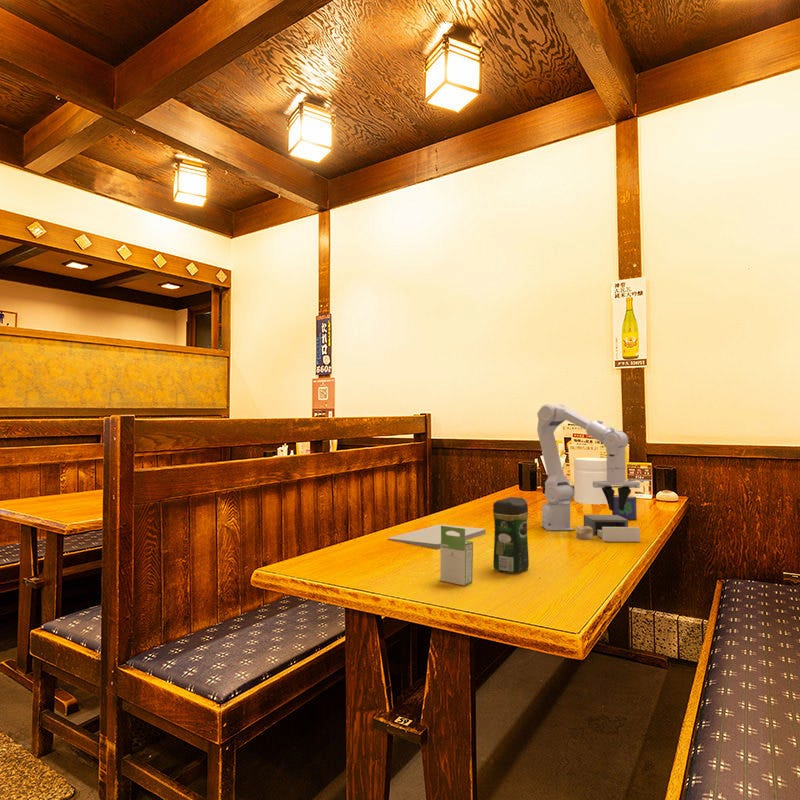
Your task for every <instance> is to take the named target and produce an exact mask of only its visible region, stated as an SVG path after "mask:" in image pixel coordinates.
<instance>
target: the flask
mask: <svg viewBox="0 0 800 800" xmlns="http://www.w3.org/2000/svg"><path fill="white" fill-rule="evenodd" d="M613 502H614V510H613V511H611V513H612V514H611V515H619V516H621V517H623V518H625V519H627V520H628V521H637V511H638V510H637V496H633V495H632V496H630V495H629V496H628V498H627V500H626V503H625V506H624V511H621V510H619V494H616V495H614V500H613Z"/></svg>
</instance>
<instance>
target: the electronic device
mask: <svg viewBox="0 0 800 800" xmlns="http://www.w3.org/2000/svg"><path fill="white" fill-rule="evenodd" d="M441 526H448V527H455V528H463V529H465V540H466V541H469V540H471V539H473V538H474V539H475V538H477V537H481V536H483V535H486V528H481V527H469V526H458V525H447V524H435V525H433V526H428V527H424V528H420V529H417V530H413V531H410V532H405V533H402V534H398V535H394V536H391V537H388V539H387V540H388V541H391V542H392V541H393V542H397V543H403V544H408V545H414V546H418V547H423V548H429V549H433V550H441ZM446 534H447V535H453V536H460V534H459V533H457V532H455V531H448V532H446Z"/></svg>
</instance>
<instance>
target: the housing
mask: <svg viewBox="0 0 800 800" xmlns="http://www.w3.org/2000/svg"><path fill="white" fill-rule="evenodd" d="M583 526H589V527H591V528H592V529H593V536H596V531H597V530H602V527H629V520H627V519H625V518H623V517H621V516H619V515H612V514H583Z"/></svg>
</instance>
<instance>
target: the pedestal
mask: <svg viewBox="0 0 800 800" xmlns="http://www.w3.org/2000/svg"><path fill="white" fill-rule="evenodd" d="M593 536H594V535H593V529H592V528H591V527H589V526H584V525H577V526H576V538H577V539H579V540H587V541H588V540H594V537H593Z"/></svg>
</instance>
